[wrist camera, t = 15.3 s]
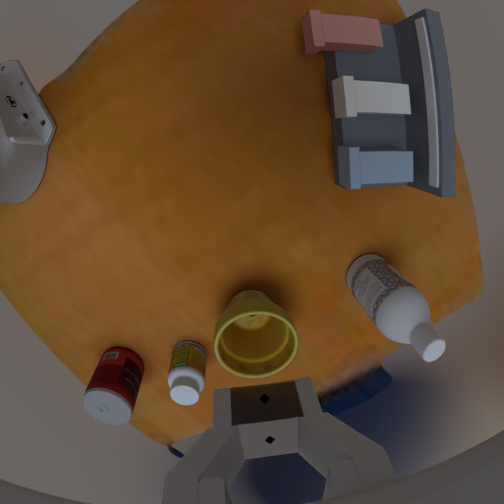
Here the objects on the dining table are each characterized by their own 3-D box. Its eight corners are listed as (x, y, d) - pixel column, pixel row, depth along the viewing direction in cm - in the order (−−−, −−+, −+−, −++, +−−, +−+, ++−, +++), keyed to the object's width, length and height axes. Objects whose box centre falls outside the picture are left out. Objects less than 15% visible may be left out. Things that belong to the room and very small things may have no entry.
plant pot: (265, 263, 45) (276, 296, 36) (296, 318, 48) (311, 357, 39) (201, 297, 46) (197, 335, 37) (237, 347, 49) (240, 389, 40)
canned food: (95, 365, 49) (76, 409, 39) (112, 337, 47) (91, 381, 37) (133, 387, 51) (120, 432, 41) (152, 360, 49) (140, 408, 39)
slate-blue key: (339, 184, 38) (351, 189, 34) (337, 146, 36) (349, 147, 32) (397, 180, 38) (413, 185, 34) (396, 145, 36) (412, 147, 33)
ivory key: (335, 118, 35) (347, 116, 31) (331, 81, 33) (343, 75, 29) (395, 119, 35) (411, 118, 31) (392, 84, 34) (407, 80, 30)
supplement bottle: (190, 334, 48) (185, 375, 39) (213, 356, 50) (212, 398, 41) (166, 350, 49) (156, 392, 40) (188, 371, 51) (184, 413, 41)
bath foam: (393, 273, 47) (467, 343, 29) (361, 302, 49) (422, 386, 30) (370, 243, 45) (448, 310, 27) (336, 275, 47) (396, 358, 28)
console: (335, 183, 42) (372, 201, 31) (320, 27, 34) (352, -6, 23) (404, 180, 42) (454, 196, 31) (392, 34, 35) (438, 12, 23)
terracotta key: (305, 54, 32) (314, 45, 28) (301, 20, 30) (309, 9, 27) (369, 57, 32) (383, 50, 28) (364, 24, 31) (377, 15, 27)
